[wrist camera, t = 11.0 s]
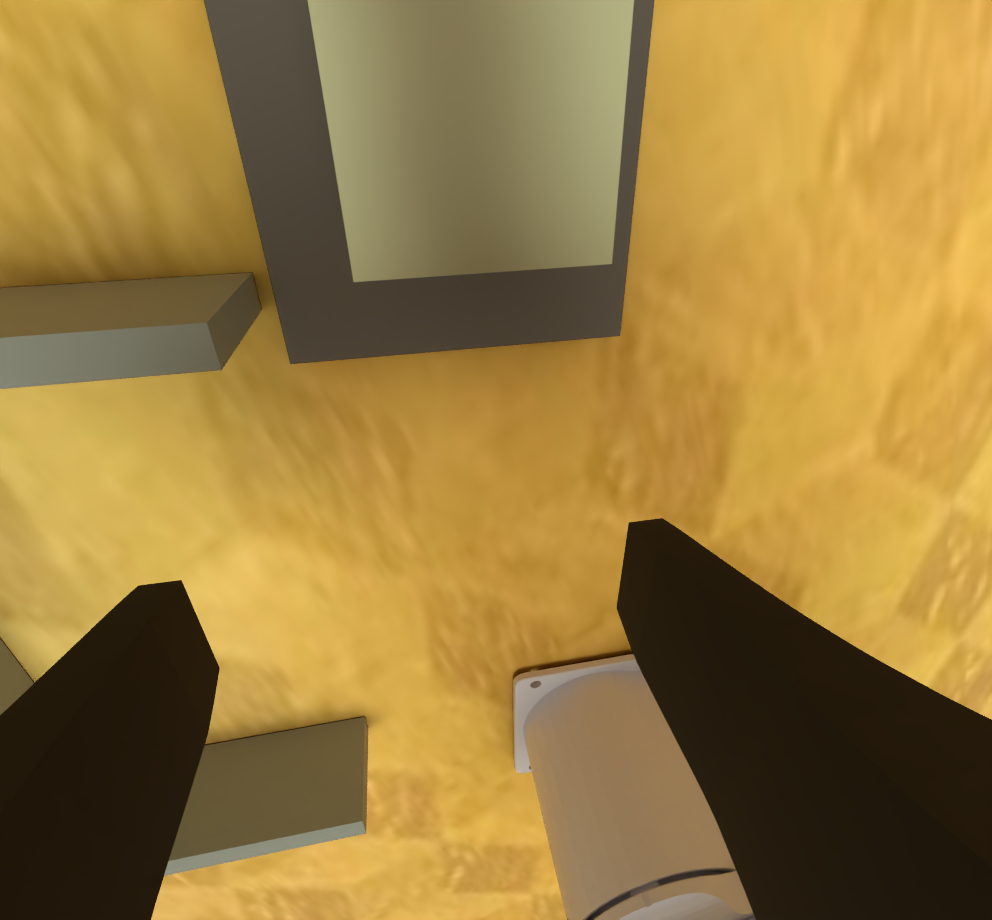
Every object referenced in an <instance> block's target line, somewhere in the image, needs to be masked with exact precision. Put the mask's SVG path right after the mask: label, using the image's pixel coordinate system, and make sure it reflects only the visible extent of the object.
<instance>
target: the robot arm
mask: <svg viewBox="0 0 992 920" xmlns="http://www.w3.org/2000/svg"><path fill="white" fill-rule="evenodd" d="M617 610H618V613H619V616H620V619H621V621H622V624H623V627H624V630H625V633H626V636H627V638H628V641H629V644H630V646H631V649H632V652H633V654H629V655H623V656H617V657H612V658H606V659H600V660H595V661H589V662H583V663H577V664H572V665H566V666H560V667H555V668H549V669H543V670H537V671H532V672H526V673H522V674H519V675H517V676H516V677H515V678H514V681H513V716H514V766H515V770H516V772H518V773H527V772H532V774H533V778H534V782H535V786H536V791H537V795H538V799H539V803H540V808H541V812H542V816H543V820H544V824H545V829H546V833H547V837H548V841H549V846H550V850H551V854H552V858H553V863H554V867H555V871H556V875H557V879H558V884H559V888H560V892H561V896H562V901H563V905H564V909H565V913H566V917H567V920H992V720H991V719H989V718H987V717H985V716H983V715H981V714H979V713H977V712H975V711H973V710H971V709H969V708H967V707H965V706H963V705H961V704H959V703H957V702H955V701H953V700H951V699H949V698H947V697H945V696H943V695H941V694H939V693H937V692H936V691H934V690H932V689H930V688H928V687H926V686H925V685H923V684H921V683H919V682H917V681H915V680H914V679H912V678H910V677H908V676H906V675H904V674H903V673H901V672H899V671H897V670H895V669H893V668H891V667H890V666H888V665H886V664H884V663H882V662H881V661H879V660H877V659H875V658H874V657H872V656H870V655H868V654H867V653H865V652H863V651H862V650H860V649H858V648H856V647H855V646H853V645H851V644H850V643H848V642H846V641H845V640H843V639H842V638H840V637H838V636H837V635H835V634H833V633H832V632H830V631H829V630H827V629H825V628H824V627H822V626H821V625H819V624H817V623H816V622H814V621H812V620H811V619H809V618H808V617H806V616H804V615H803V614H801V613H800V612H798V611H797V610H795V609H794V608H792V607H791V606H789V605H788V604H786V603H784V602H783V601H781V600H780V599H778V598H777V597H775V596H774V595H772V594H771V593H769V592H768V591H766V590H765V589H764V588H762V587H761V586H759V585H758V584H756V583H755V582H753V581H752V580H750V579H749V578H747V577H746V576H745V575H743V574H742V573H740V572H739V571H737V570H736V569H735V568H733V567H732V566H730V565H729V564H727V563H726V562H725V561H723V560H722V559H720V558H719V557H718V556H716V555H715V554H713V553H712V552H710V551H709V550H708V549H706V548H705V547H703V546H702V545H701V544H699V543H698V542H696V541H695V540H694V539H692V538H691V537H689V536H688V535H686V534H685V533H684V532H682V531H681V530H679V529H678V528H676V527H675V526H673V525H672V524H670V523H669V522H667V521H666V520H664V519H663V518H661V519H653V520H645V521H637V522H630V523H629V525H628V532H627V539H626V546H625V553H624V560H623V567H622V574H621V581H620V588H619V595H618V602H617ZM218 674H219V666H218V664H217V661H216V659H215V657H214V654H213V652H212V650H211V647H210V645H209V643H208V641H207V638H206V636H205V634H204V631H203V629H202V627H201V624H200V622H199V620H198V618H197V615H196V613H195V611H194V608H193V606H192V604H191V601H190V599H189V597H188V595H187V592H186V590H185V588H184V585H183V583H182V581H181V580H179V581H171V582H163V583H156V584H148V585H140V586H138V587H136V588H135V589H134V590H133V591H132V592H131V593H130V594H128V595H127V596H126V597H125V598H124V599H123V600H122V601H121V602H120V603H119V604H117V605H116V606H115V607H114V608H113V609H112V610H111V611H110V612H109V613H108V614H107V615H106V616H105V617H104V618H103V619H102V620H100V621H99V622H98V623H97V624H96V625H95V626H94V627H93V628H92V629H91V630H90V631H89V632H88V633H87V634H86V635H85V636H84V637H83V638H82V639H81V640H80V641H78V642H77V643H76V644H75V645H74V646H73V647H72V648H71V649H70V650H69V651H68V652H67V653H66V654H65V655H64V656H63V657H62V658H61V659H60V660H59V661H57V662H56V663H55V664H54V665H53V666H52V667H51V668H50V669H49V670H48V671H47V672H46V673H45V674H44V675H43V676H42V677H40V678H39V679H38V680H37V681H36V682H35V683H34V684H33V685H32V686H31V687H30V688H29V689H28V690H27V691H26V692H24V693H23V694H22V695H21V696H20V697H19V698H18V699H17V700H16V701H15V702H14V703H13V704H12V705H11V706H10V707H9V708H7V709H6V710H5V711H4V712H3V713H2V714H1V715H0V920H151V917H152V914H153V910H154V906H155V903H156V900H157V896H158V893H159V890H160V887H161V884H162V880H163V877H164V874H165V871H166V868H167V865H168V861H169V858H170V855H171V852H172V849H173V845H174V842H175V839H176V836H177V833H178V829H179V826H180V823H181V820H182V817H183V814H184V810H185V807H186V804H187V801H188V798H189V794H190V791H191V788H192V785H193V781H194V778H195V775H196V772H197V768H198V765H199V762H200V759H201V755H202V752H203V749H204V745H205V742H206V738H207V735H208V730H209V725H210V720H211V715H212V710H213V705H214V699H215V693H216V686H217V680H218Z"/></svg>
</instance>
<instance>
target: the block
mask: <svg viewBox="0 0 992 920" xmlns="http://www.w3.org/2000/svg"><path fill="white" fill-rule="evenodd" d="M308 6H309V12H310V18H311V24H312V30H313V37H314V43H315V49H316V55H317V61H318V67H319V73H320V79H321V86H322V92H323V98H324V104H325V110H326V116H327V122H328V128H329V135H330V141H331V147H332V153H333V159H334V165H335V171H336V177H337V184H338V190H339V196H340V202H341V208H342V214H343V220H344V226H345V233H346V239H347V245H348V251H349V257H350V263H351V269H352V275H353V282H363V281H377V280H392V279H406V278H420V277H434V276H449V275H463V274H477V273H491V272H506V271H520V270H534V269H548V268H563V267H577V266H591V265H605V264H612V257H613V246H614V234H615V222H616V210H617V198H618V186H619V174H620V162H621V150H622V138H623V126H624V114H625V102H626V90H627V78H628V66H629V54H630V43H631V31H632V19H633V7H634V0H308Z"/></svg>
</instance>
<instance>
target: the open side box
mask: <svg viewBox="0 0 992 920" xmlns="http://www.w3.org/2000/svg"><path fill="white" fill-rule="evenodd" d="M261 310H262V309H261V305H260V301H259V297H258V293H257V289H256V285H255V281H254V277H253V273H252V272H251V273H235V274H219V275H203V276H186V277H170V278H154V279H138V280H122V281H105V282H89V283H73V284H57V285H40V286H24V287H8V288H0V389H6V388H17V387H29V386H41V385H52V384H64V383H76V382H87V381H99V380H111V379H122V378H134V377H146V376H158V375H169V374H181V373H193V372H204V371H216V370H222V369H223V367H224V366H225V364H226V363H227V361H228V360H229V358H230V357H231V355H232V354H233V352H234V351H235V349H236V348H237V346H238V345H239V343H240V342H241V340H242V339H243V337H244V335H245V334H246V332H247V331H248V329H249V328H250V326H251V325H252V323H253V322H254V320H255V319H256V317H257V316H258V314H259V313H260V311H261ZM33 684H34V683H33V681H32V680H31V679H30V677H29V676H28V675H27V673H26V672H25V671H24V669H23V668H22V667H21V665H20V664H19V663H18V661H17V660H16V659H15V657H14V656H13V655H12V654H11V652H10V651H9V650H8V648H7V647H6V646H5V644H4V643H3V642H2V640H1V639H0V715H1V714H2V713H3V712H4V711H5V710H6V709H7V708H9V707H10V706H11V705H12V704H13V703H14V702H15V701H16V700H17V699H18V698H19V697H20V696H21V695H22V694H23V693H24V692H26V691H27V690H28V689H29V688H30V687H31V686H32V685H33ZM367 764H368V727H367V723H366V719H365V717H361V718H355V719H350V720H344V721H339V722H333V723H327V724H322V725H316V726H311V727H305V728H299V729H294V730H288V731H283V732H277V733H272V734H266V735H260V736H255V737H249V738H244V739H238V740H232V741H227V742H221V743H216V744H210V745H205V746H204V749H203V752H202V755H201V759H200V762H199V765H198V768H197V772H196V775H195V778H194V781H193V785H192V788H191V791H190V794H189V798H188V801H187V804H186V807H185V810H184V814H183V817H182V820H181V823H180V826H179V829H178V833H177V836H176V839H175V842H174V845H173V849H172V852H171V855H170V858H169V861H168V865H167V868H166V871H165V874H164V876H165V875H170V874H175V873H179V872H184V871H189V870H194V869H198V868H203V867H208V866H213V865H218V864H222V863H227V862H232V861H237V860H241V859H246V858H251V857H256V856H260V855H265V854H270V853H275V852H280V851H284V850H289V849H294V848H299V847H303V846H308V845H313V844H318V843H323V842H327V841H332V840H337V839H342V838H346V837H351V836H356V835H361V834H365V833H366V814H367Z"/></svg>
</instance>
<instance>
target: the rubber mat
mask: <svg viewBox="0 0 992 920" xmlns="http://www.w3.org/2000/svg"><path fill="white" fill-rule="evenodd" d="M204 3H205V7H206V12H207V16H208V20H209V24H210V28H211V33H212V37H213V41H214V45H215V49H216V54H217V58H218V62H219V66H220V70H221V75H222V79H223V83H224V87H225V91H226V96H227V100H228V104H229V108H230V112H231V117H232V121H233V125H234V129H235V133H236V138H237V142H238V146H239V150H240V154H241V159H242V163H243V167H244V171H245V175H246V180H247V184H248V188H249V192H250V196H251V201H252V205H253V209H254V213H255V217H256V222H257V226H258V230H259V234H260V238H261V243H262V247H263V251H264V255H265V259H266V264H267V268H268V272H269V276H270V280H271V285H272V289H273V293H274V297H275V301H276V306H277V310H278V314H279V318H280V322H281V327H282V331H283V335H284V339H285V343H286V348H287V352H288V356H289V360H290V364H297V363H309V362H320V361H332V360H344V359H355V358H367V357H379V356H390V355H402V354H414V353H425V352H437V351H449V350H460V349H472V348H484V347H495V346H507V345H519V344H531V343H542V342H554V341H566V340H577V339H589V338H601V337H612V336H620V331H621V321H622V311H623V301H624V292H625V282H626V272H627V262H628V253H629V243H630V233H631V223H632V213H633V204H634V194H635V184H636V174H637V165H638V155H639V145H640V135H641V125H642V116H643V106H644V96H645V86H646V77H647V67H648V57H649V47H650V37H651V28H652V18H653V8H654V0H634V7H633V19H632V31H631V43H630V54H629V66H628V78H627V90H626V102H625V114H624V126H623V138H622V150H621V162H620V174H619V186H618V198H617V210H616V222H615V234H614V246H613V257H612V264H605V265H591V266H577V267H563V268H548V269H534V270H520V271H506V272H491V273H477V274H463V275H449V276H434V277H420V278H406V279H392V280H377V281H363V282H353V275H352V269H351V263H350V257H349V251H348V245H347V239H346V233H345V226H344V220H343V214H342V208H341V202H340V196H339V190H338V184H337V177H336V171H335V165H334V159H333V153H332V147H331V141H330V135H329V128H328V122H327V116H326V110H325V104H324V98H323V92H322V86H321V79H320V73H319V67H318V61H317V55H316V49H315V43H314V37H313V30H312V24H311V18H310V12H309V6H308V0H204Z"/></svg>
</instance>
